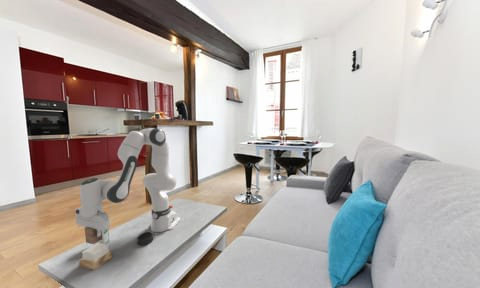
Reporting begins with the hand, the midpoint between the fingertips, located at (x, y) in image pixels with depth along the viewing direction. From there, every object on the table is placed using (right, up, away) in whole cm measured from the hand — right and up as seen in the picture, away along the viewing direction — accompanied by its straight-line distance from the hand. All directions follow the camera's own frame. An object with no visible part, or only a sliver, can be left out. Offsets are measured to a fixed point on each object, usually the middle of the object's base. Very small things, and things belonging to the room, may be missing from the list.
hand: (94, 234), depth 101 cm
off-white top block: (0, -12, +2) cm, 12 cm away
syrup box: (-8, -14, +17) cm, 23 cm away
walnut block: (0, -3, 0) cm, 3 cm away
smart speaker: (+17, -14, +20) cm, 30 cm away
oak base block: (0, -16, +2) cm, 16 cm away
